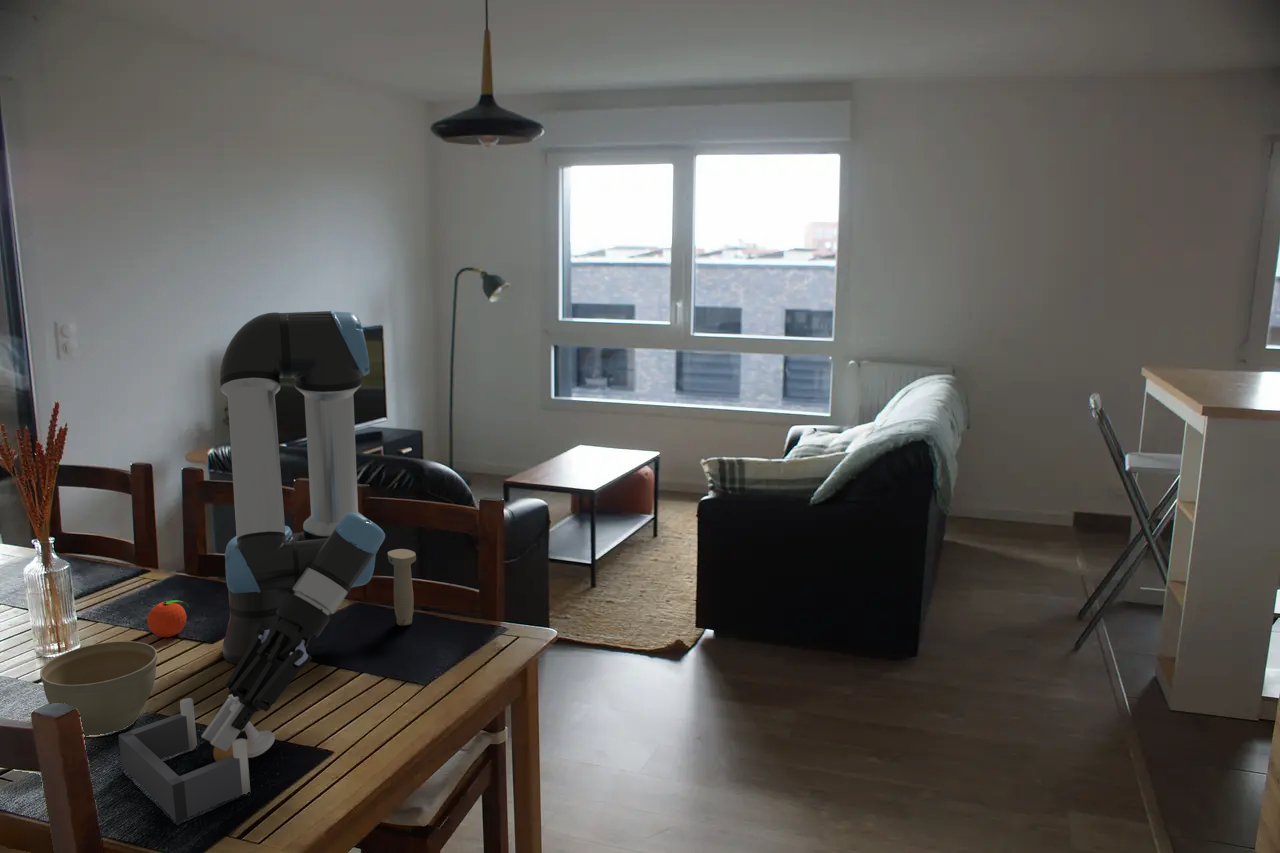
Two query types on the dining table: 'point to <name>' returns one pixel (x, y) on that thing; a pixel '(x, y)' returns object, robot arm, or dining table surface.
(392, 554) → the handle
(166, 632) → the clementine
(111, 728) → the planter bowl
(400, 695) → the dining table surface
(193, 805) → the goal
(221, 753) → the ball
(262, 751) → the chess piece
